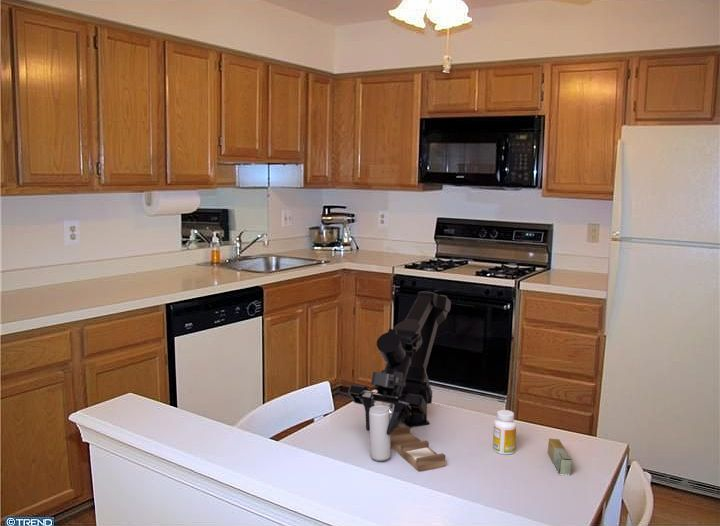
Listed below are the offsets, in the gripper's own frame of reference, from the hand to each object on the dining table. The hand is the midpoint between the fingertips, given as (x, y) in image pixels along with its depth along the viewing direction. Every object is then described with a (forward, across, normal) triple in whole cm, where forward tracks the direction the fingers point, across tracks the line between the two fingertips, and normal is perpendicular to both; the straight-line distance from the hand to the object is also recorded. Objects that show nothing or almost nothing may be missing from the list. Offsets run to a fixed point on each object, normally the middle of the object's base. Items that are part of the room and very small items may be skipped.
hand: (377, 432), depth 148 cm
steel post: (-7, -3, +16) cm, 17 cm away
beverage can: (+4, 0, +6) cm, 7 cm away
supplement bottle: (-8, +26, +19) cm, 33 cm away
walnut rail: (-2, +3, +12) cm, 13 cm away
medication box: (-7, +39, +18) cm, 44 cm away
